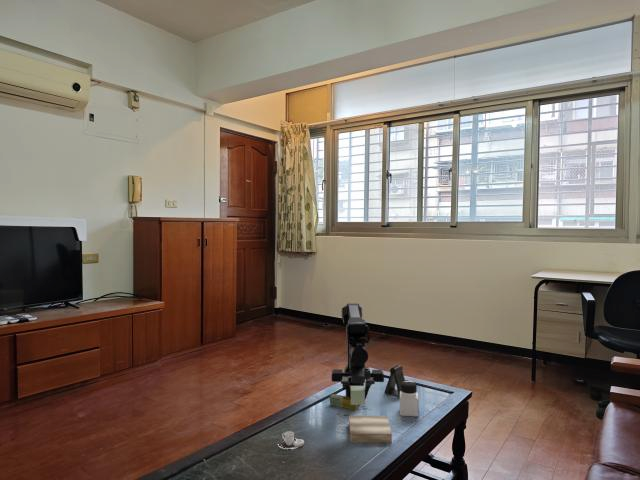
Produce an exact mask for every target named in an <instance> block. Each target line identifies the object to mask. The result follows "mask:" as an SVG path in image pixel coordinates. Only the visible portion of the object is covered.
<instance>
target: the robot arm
mask: <svg viewBox="0 0 640 480" xmlns="http://www.w3.org/2000/svg"><path fill="white" fill-rule="evenodd" d="M341 320H342V321H343V324H344V327H345V329H346V332H345V334H346V346H347V347H346V349H347V351H346V352H347V354H346V355H347V356H346V357H347V362H346V363H347V364H346V366H345V367H344V370H343V369H338V368H337V369H335V368H334V369H332V370H331V382H333V383H335V382H336V383H340V384H341V386H342V390H345V396H346V397H349V398H350V399H351V386H364V389H365V401H366V399H367V397H368V394H369V390H370V388H371V386H372V385H374V384H375V383H384V382H385V375H384V371H383V370H382V369H372V370H371V368H367V367H366V363H367V361H368V359H369V353H368V351H367V348H366V344H369V343H370V340H371V333H370V327H369V325H368V324H366V320H365V319H364V318H363V308H362V307H361V306H360V303H357V302H349V303H346V305H345V306H343V307H342V308H341Z"/></svg>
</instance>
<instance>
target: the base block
mask: <svg viewBox="0 0 640 480" xmlns="http://www.w3.org/2000/svg"><path fill="white" fill-rule="evenodd" d="M348 417H349V418H348V419H349V421H348V423H349V425H348V426H349V437H350V438H349V439H350V443H392V439H393V435H392V430H391V426H390V423H389V420H388V416H387V415H348Z"/></svg>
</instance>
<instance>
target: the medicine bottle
mask: <svg viewBox="0 0 640 480" xmlns="http://www.w3.org/2000/svg"><path fill="white" fill-rule="evenodd" d="M417 388H418V387H417V383H416V382H414V381H412V380H405V381H404V382H402V383H401V391H400V397H399V416H401V417H403V416H404V417H415V418H417V417H419V393H418V391H417V390H418V389H417Z"/></svg>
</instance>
